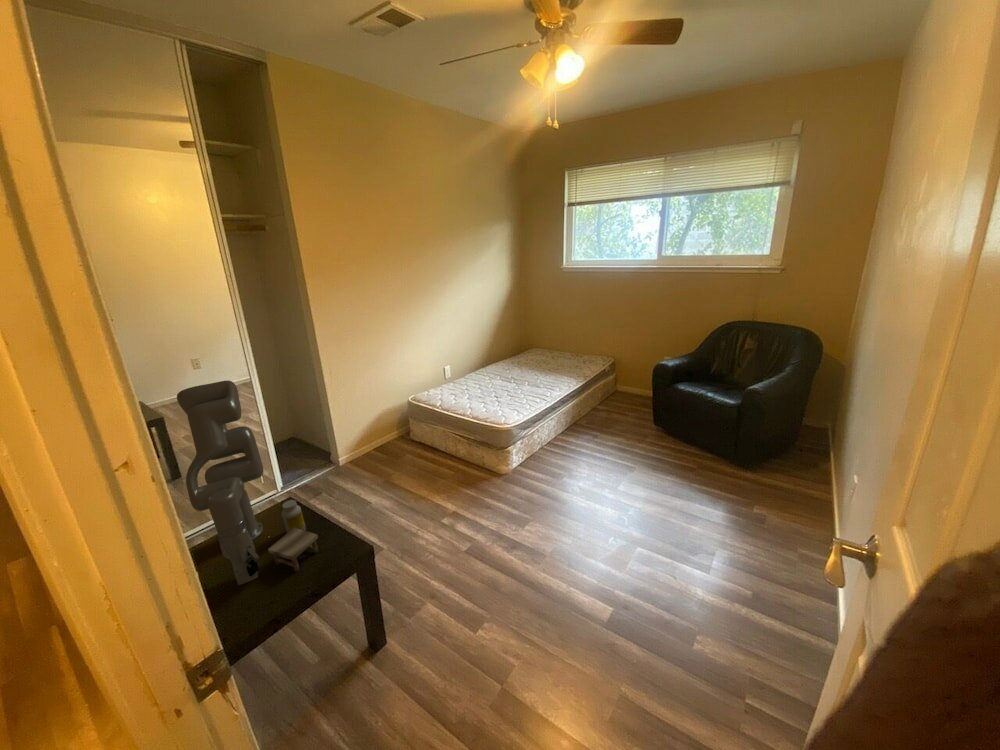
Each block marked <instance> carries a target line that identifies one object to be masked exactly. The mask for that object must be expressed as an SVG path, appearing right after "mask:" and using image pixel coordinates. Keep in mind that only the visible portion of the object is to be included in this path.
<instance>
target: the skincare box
mask: <svg viewBox="0 0 1000 750" xmlns="http://www.w3.org/2000/svg"><path fill="white" fill-rule="evenodd" d="M248 555H249V554H248ZM229 558H230V560H229V562H230V561H231V563H230V565H231V564H232V565H231V568H232V567H233V568H232V571H233V573H234V576H235V579H236V582H237V585H238V586H240V585H244V584H245V583H249V582H251V581H254V580H255V579H257V578H259V570H258V571H257V572H256V573H255V574H254V575H253V576H251V577H250V576H249V574H248V571H247V568H246V567H247V565H246V563H245V562H244V563H240V562H236V561H234V560H233V558H232V555H229ZM247 560H248V561H249V562H250V561H251V560H252V558H251V557H250V558H249V559H247Z"/></svg>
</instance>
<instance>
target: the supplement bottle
mask: <svg viewBox="0 0 1000 750" xmlns="http://www.w3.org/2000/svg"><path fill="white" fill-rule="evenodd" d="M281 506H282V511H281V518H282V521H283V524H284V528H285V531H286V534H287V533H288V532H289V531H291V530H292V529H293V528H297V529H300V530H304V531H306V528H307V526H306V521H305V520H304V519H305V518H304V516H303V512H302V508H301V506H300V505H298V504H297V501H296V500H295V499H290V500H287V501H285V502H283V504H282V505H281Z"/></svg>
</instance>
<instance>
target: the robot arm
mask: <svg viewBox="0 0 1000 750" xmlns="http://www.w3.org/2000/svg"><path fill="white" fill-rule="evenodd" d="M176 400H177V403H178V405H179V407H180V408H181V409H182V410H183V412H184V413H185V414H186V415H187V420H188V424H189V428H190V432H191V435H192V440H193V444H194V448H195V452H196V453H195V457H193V460H192V461H191V463H190V464H189V467H188V469H187V471H186V475H185V486H186V490H187V493H188V499H189V502H190V505H191V507H192V509H194V510H195V511H197V512H202V511H206V510H209V512H210V516H211V518H212V521H213V524H214V527H215V529H216V532H217V540H218V543H219V547H220V550H221V553H222V557H224V558H226V559H228V561H229V563H230V565H231V569H233V567H232V564H231V561H230V558H229V555H232V558H233V560H234V561H236V562H240V563H244V562H245V563H246V565H247V567H246V568H247V571H248V574H249V576H250V577H251V576H253V575H254V574H255V573H256V572H257V571H258V572H259V570H260V567H259V565H258V560H259V559H260V556H259V554H258V553H256V547H255V544H254V542H253V541H255V540H256V539H257V538H258V537H259V536H260V535H261V534H262V533H263V531H264V527H263V526H264V525H263V524H262V523H261V522H260V521H257V520H256V518H255V513H254V511H253V508H252V505H251V501H250V497H249V495H248V492H247V490H246V489H245V483H248V482H249V483H250V482H252V481H255V480H257V479H259V478H261V477H262V476H263V475H264V466H263V462H262V461H263V460H262V458H261V456H260V455H261V454H260V452H259V448H258V444H257V441H256V438H255V437H256V436H255V435H254V432H253V431H252V429H251V428H250V427H248V426H243V425H242V426H237V427H233V428H230V429H229V428H228V427H227V424H229V423H233V422H238V421H239V420H240V419H241V418H242V405H241V401H240V395H239V390H238V387H237V385H236V384H235V382H233V380H221V381H215V382H212V383H204V384H199V385H195V386H191V387H188V388H185V389H184V388H183V389H182V390H180V391H178V392H177V395H176ZM238 454H243V456H239V457H235V458H232V459H229V460H225V461H222V462H218V463H216V464H213V465H210V467H208V468H207V469H206V470H205V472H204V479H205V483H206V484H205V485H202V486H199V481H198V478H199V473H200V470H201V469H202V468H203V467H204V466H205V465H206V464H207V463H208V462H209V461H216V460H217V461H218V460H220V459H225V458H228V457H231V456H235V455H238ZM248 554H249V555H248ZM250 557H251V558H252V560H251V561H250V562H249V561H248V560H247V559H249V558H250Z"/></svg>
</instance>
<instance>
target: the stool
mask: <svg viewBox="0 0 1000 750" xmlns="http://www.w3.org/2000/svg"><path fill="white" fill-rule="evenodd" d="M318 538H319V536H318V534H317V533H313V532H311V531H307V530H305V531H304V530H300V529H297V528H293V529H292V530H291V531H289V532H288V533H287V532H286V534H284V535H283V536H282V537H281V538H280V539H278V540H277V541H276V542H275V543H274V544H272V545H271V546H270V547H268V549H267V551H268V553H269V554H272V557H273V560H274V563H275V565H276V566H280V565H281V564H283V565H287V566H290V567H292V568H293V570H294V572H299V571H300V565H299V562H298V559H297V557H299V556H300V555H301V554H302V553H303V552H304V551H305V550H307V549H308V548H310V549H312V551H313V553H314V554H317V553H319V545H318V543H317V540H318ZM280 557H281V558H280ZM283 558H284V559H283ZM287 559H288V560H290V561H288V560H287Z"/></svg>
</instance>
